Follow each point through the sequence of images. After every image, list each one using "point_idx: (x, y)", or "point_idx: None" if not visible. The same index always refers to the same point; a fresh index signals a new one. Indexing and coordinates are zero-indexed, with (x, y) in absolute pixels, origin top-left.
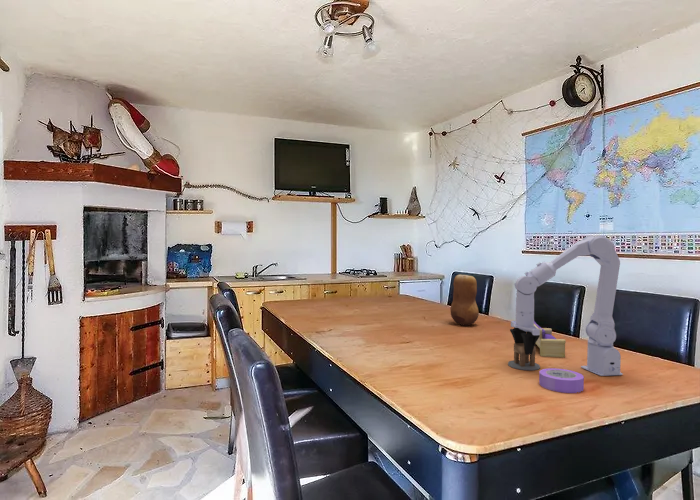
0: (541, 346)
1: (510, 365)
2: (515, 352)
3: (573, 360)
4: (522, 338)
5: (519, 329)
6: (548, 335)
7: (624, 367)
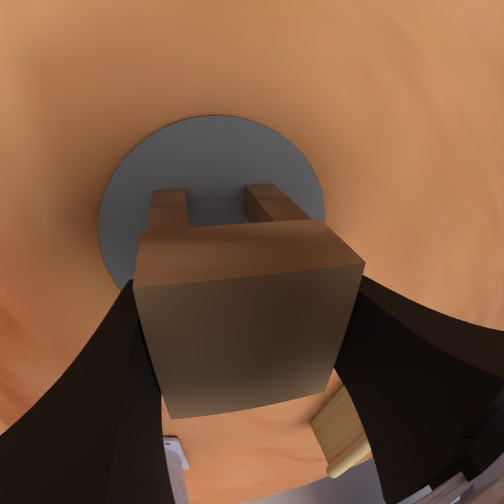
0: None
1: (205, 116)
2: (282, 219)
3: (270, 435)
4: (366, 397)
5: (451, 467)
6: None
7: (185, 482)
